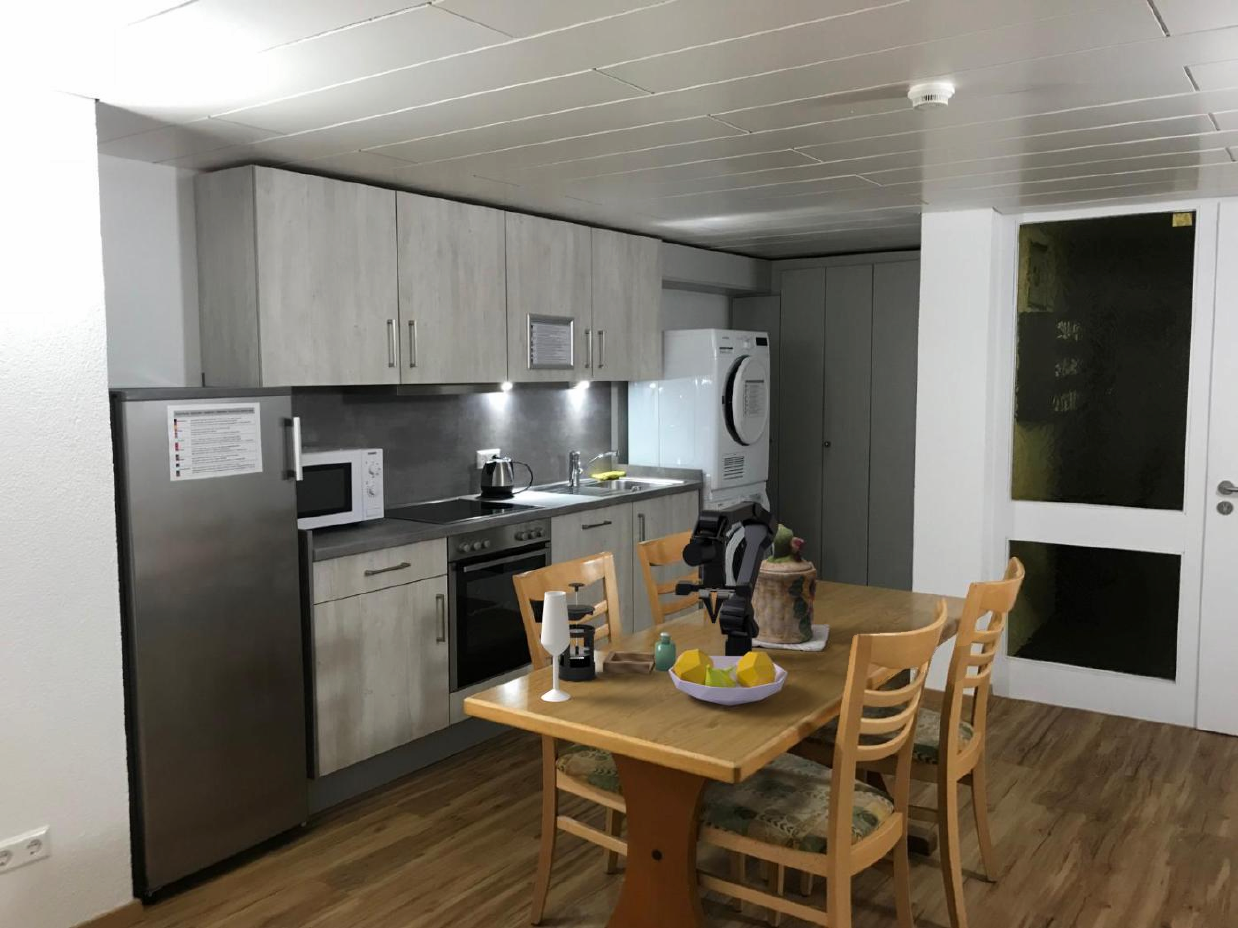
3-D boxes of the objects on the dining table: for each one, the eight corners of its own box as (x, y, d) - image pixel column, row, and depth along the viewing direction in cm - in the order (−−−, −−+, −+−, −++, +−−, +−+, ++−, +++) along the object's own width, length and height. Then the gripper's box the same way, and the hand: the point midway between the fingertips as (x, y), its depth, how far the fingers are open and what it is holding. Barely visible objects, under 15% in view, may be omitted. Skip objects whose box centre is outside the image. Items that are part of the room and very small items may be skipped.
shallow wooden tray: (654, 661, 258) (654, 652, 258) (648, 673, 247) (648, 664, 247) (610, 660, 260) (610, 650, 259) (602, 671, 249) (602, 662, 249)
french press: (605, 674, 246) (605, 582, 245) (585, 684, 238) (584, 588, 237) (566, 668, 252) (565, 577, 251) (544, 677, 244) (543, 584, 243)
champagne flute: (537, 694, 231) (536, 591, 229) (565, 691, 233) (564, 589, 231) (546, 702, 224) (545, 597, 223) (574, 699, 227) (574, 594, 225)
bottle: (676, 666, 254) (677, 631, 253) (674, 671, 249) (674, 636, 248) (656, 665, 255) (656, 630, 254) (653, 671, 250) (653, 635, 249)
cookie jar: (732, 646, 273) (732, 530, 271) (745, 626, 297) (746, 518, 294) (824, 653, 266) (826, 533, 264) (830, 631, 290) (832, 521, 288)
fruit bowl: (710, 673, 248) (710, 627, 247) (808, 694, 231) (808, 645, 230) (640, 700, 226) (640, 650, 226) (742, 725, 209) (742, 672, 208)
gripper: (753, 556, 254) (752, 616, 256) (679, 554, 257) (679, 614, 258) (751, 563, 243) (751, 627, 245) (675, 561, 246) (674, 624, 248)
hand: (713, 622), depth 249 cm, fingers closed
